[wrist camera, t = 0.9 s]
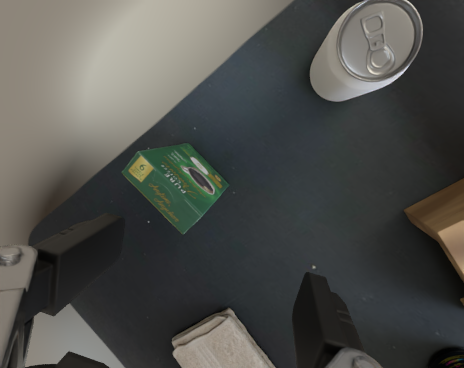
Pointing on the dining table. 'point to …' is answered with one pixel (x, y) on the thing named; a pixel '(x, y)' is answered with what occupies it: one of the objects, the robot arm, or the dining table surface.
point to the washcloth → (219, 345)
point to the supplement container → (448, 359)
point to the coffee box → (176, 182)
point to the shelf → (443, 222)
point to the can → (366, 49)
